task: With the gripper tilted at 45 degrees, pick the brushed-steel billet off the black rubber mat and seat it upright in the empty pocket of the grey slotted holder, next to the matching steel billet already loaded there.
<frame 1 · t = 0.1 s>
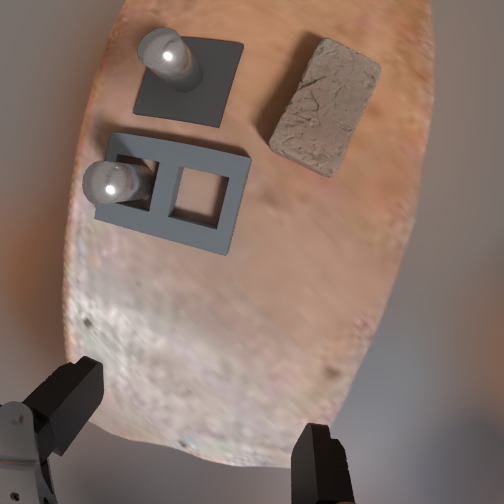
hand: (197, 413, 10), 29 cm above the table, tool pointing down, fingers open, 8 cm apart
grey slotted holder: (169, 188, 37), on the table
billet: (185, 76, 33), point 1 cm above the table, touching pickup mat
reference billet: (139, 182, 37), resting in grey slotted holder
brick: (324, 108, 34), on the table
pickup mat: (188, 78, 34), on the table
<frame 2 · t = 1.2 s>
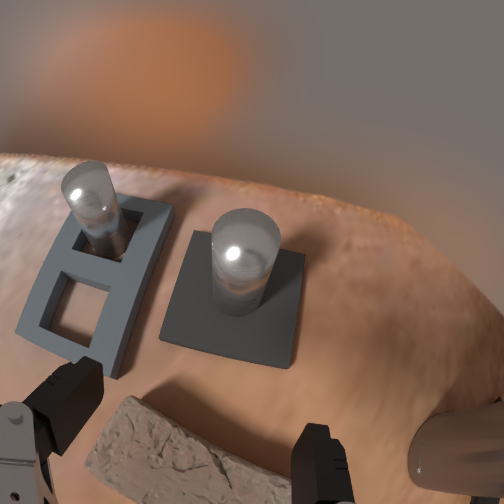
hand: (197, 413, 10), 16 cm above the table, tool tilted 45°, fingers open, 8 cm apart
grey slotted holder: (96, 275, 29), on the table
billet: (237, 294, 29), point 1 cm above the table, touching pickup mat
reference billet: (112, 240, 31), resting in grey slotted holder
brick: (195, 476, 21), on the table
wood: (486, 475, 20), on the table
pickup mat: (236, 297, 29), on the table
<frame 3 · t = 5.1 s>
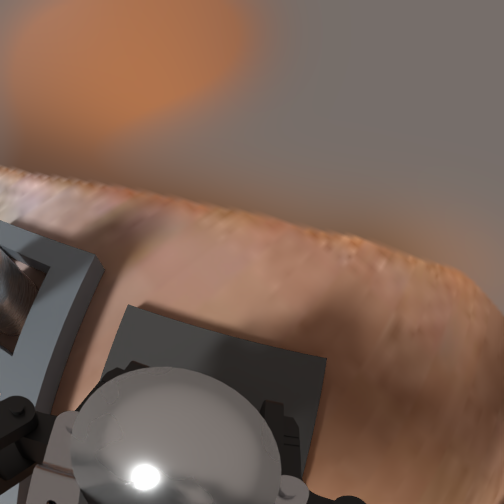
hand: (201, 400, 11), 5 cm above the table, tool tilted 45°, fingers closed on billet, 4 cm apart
billet: (196, 436, 13), point 1 cm above the table, touching gripper, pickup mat
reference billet: (15, 305, 16), resting in grey slotted holder
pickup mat: (198, 434, 14), on the table
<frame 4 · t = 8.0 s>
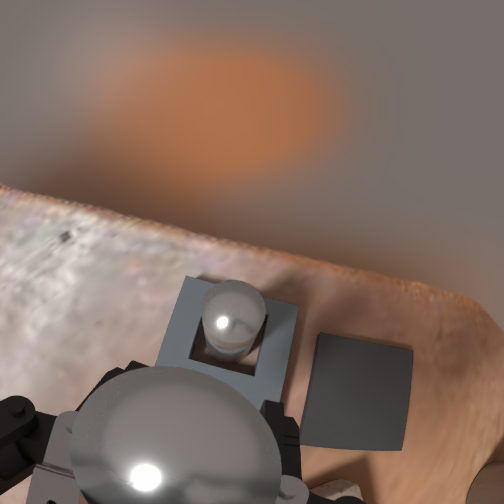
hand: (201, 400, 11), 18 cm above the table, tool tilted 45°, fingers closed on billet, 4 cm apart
grey slotted holder: (217, 383, 27), on the table
billet: (197, 435, 13), point 14 cm above the table, touching gripper
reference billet: (228, 341, 30), resting in grey slotted holder
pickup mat: (360, 396, 28), on the table
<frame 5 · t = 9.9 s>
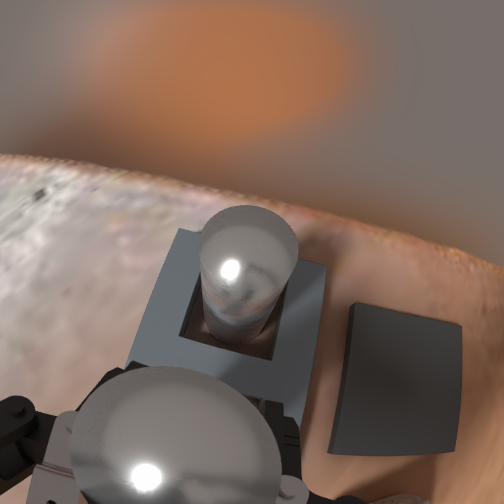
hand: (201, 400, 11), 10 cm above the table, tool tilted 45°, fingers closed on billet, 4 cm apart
grey slotted holder: (219, 371, 20), on the table
billet: (197, 435, 13), point 5 cm above the table, touching gripper
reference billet: (234, 315, 22), resting in grey slotted holder
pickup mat: (405, 385, 20), on the table
when the fingers open (6 cm above the table, at t = 11.7 s): billet drops 1 cm, resting in grey slotted holder.
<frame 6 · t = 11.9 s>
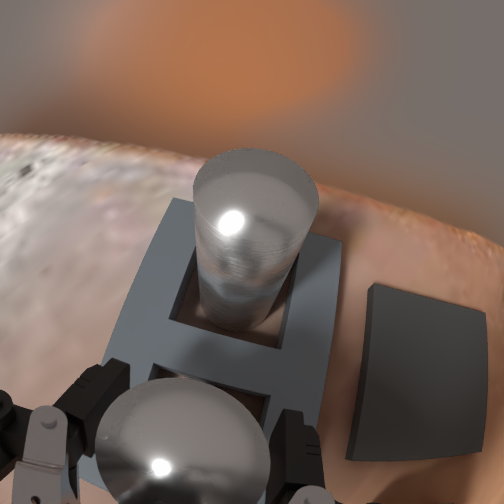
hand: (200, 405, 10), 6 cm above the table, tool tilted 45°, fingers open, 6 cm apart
grey slotted holder: (217, 363, 17), on the table
billet: (198, 435, 14), resting in grey slotted holder
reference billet: (236, 297, 19), resting in grey slotted holder
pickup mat: (430, 379, 17), on the table
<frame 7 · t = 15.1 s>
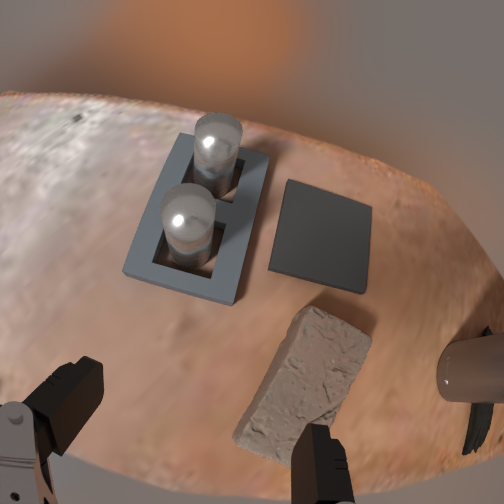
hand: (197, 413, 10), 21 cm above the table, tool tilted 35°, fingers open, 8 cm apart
grey slotted holder: (201, 213, 35), on the table
billet: (190, 249, 33), resting in grey slotted holder
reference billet: (212, 182, 36), resting in grey slotted holder
brick: (296, 389, 31), on the table
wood: (480, 392, 34), on the table
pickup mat: (324, 236, 37), on the table
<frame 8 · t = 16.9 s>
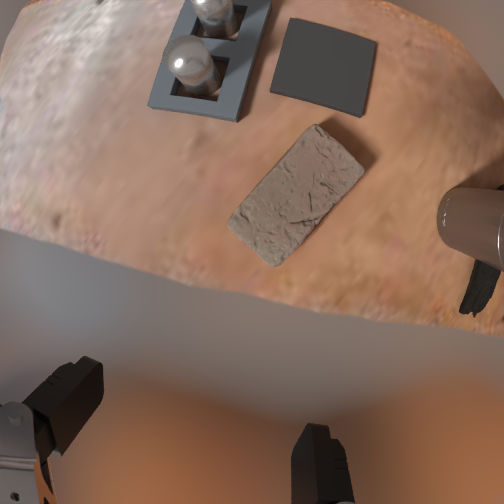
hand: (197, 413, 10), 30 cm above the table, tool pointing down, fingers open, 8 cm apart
grey slotted holder: (212, 52, 34), on the table
billet: (203, 80, 35), resting in grey slotted holder
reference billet: (221, 26, 33), resting in grey slotted holder
brick: (293, 195, 38), on the table
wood: (488, 251, 37), on the table
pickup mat: (324, 65, 33), on the table
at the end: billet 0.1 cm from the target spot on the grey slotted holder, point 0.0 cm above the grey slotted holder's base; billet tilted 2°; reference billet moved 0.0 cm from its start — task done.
